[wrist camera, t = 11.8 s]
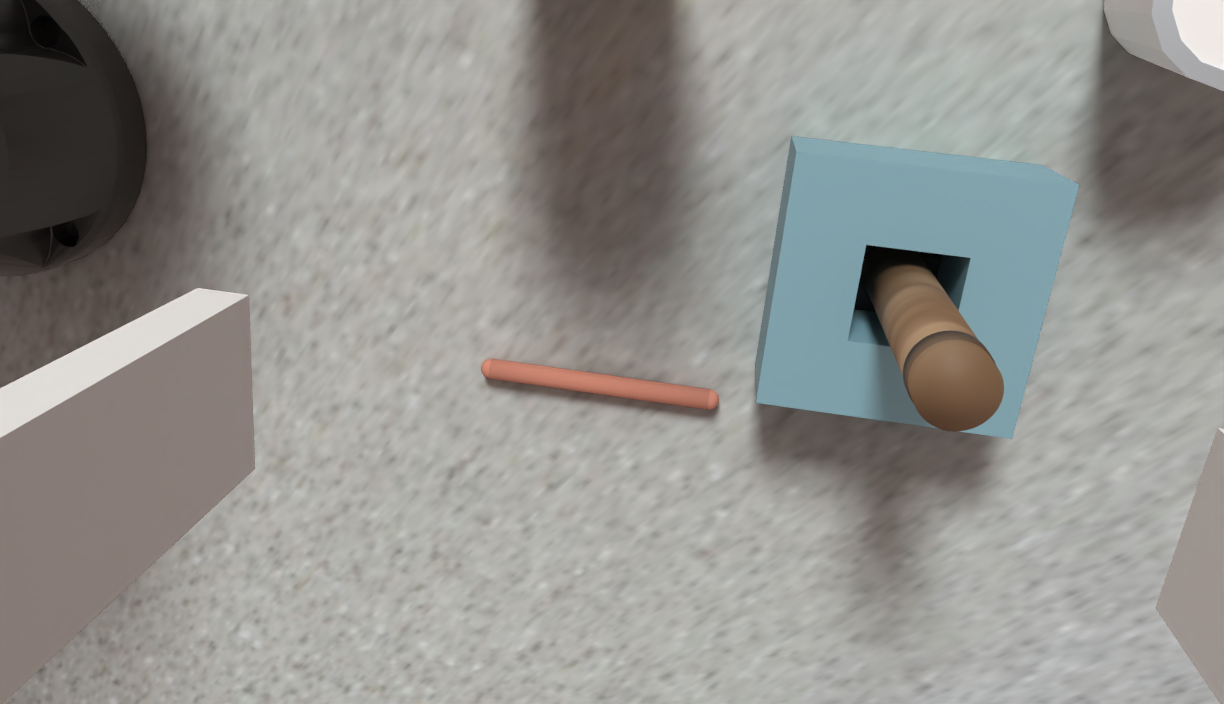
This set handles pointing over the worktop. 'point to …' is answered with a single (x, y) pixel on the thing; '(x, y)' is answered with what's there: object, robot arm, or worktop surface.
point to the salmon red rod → (600, 384)
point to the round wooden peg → (932, 342)
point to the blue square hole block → (910, 220)
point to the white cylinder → (1173, 35)
